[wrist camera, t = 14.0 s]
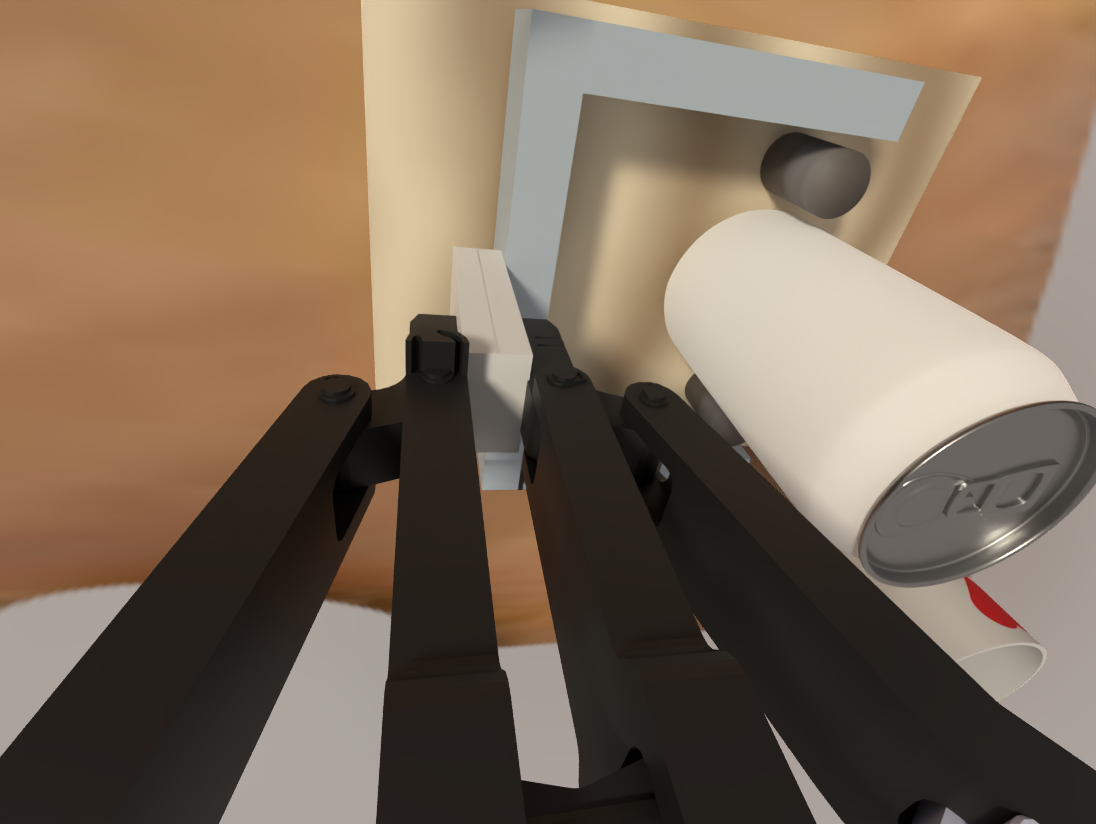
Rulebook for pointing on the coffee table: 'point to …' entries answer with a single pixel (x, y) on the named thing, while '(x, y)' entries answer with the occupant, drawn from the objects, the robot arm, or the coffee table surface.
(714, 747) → the robot arm
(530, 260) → the grey frame
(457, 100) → the base plate
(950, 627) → the cup
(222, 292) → the coffee table surface
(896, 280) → the can
